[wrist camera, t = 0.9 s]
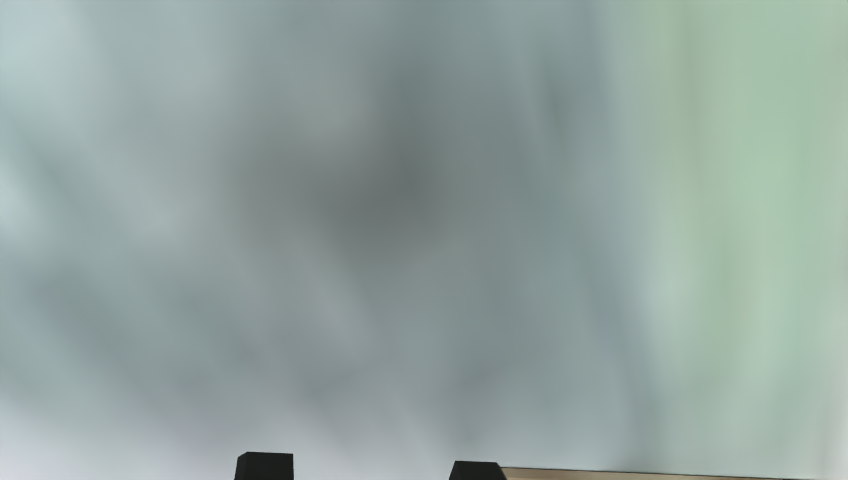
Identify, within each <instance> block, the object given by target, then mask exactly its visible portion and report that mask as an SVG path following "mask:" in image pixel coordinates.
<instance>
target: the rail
mask: <svg viewBox="0 0 848 480" xmlns="http://www.w3.org/2000/svg"><path fill="white" fill-rule="evenodd" d="M501 469H502V470H503V472H504V474H505V476H506V478H507V480H781V479H757V478H733V477H709V476H685V475H661V474H637V473H612V472H588V471H564V470H540V469H516V468H501Z"/></svg>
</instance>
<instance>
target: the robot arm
mask: <svg viewBox="0 0 848 480" xmlns="http://www.w3.org/2000/svg"><path fill="white" fill-rule="evenodd" d="M234 480H294V471H293V454H288V453H264V452H246V453H244V454H243V455H241V456H239V457H238V460H237V467H236V473H235V479H234ZM449 480H507V478H506V476H505V474H504V472H503V470H502V469H501V467H500V466H499V465H498V464H497V463H496V462H473V461H455V463H454V466H453V469H452V472H451V475H450V477H449Z"/></svg>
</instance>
